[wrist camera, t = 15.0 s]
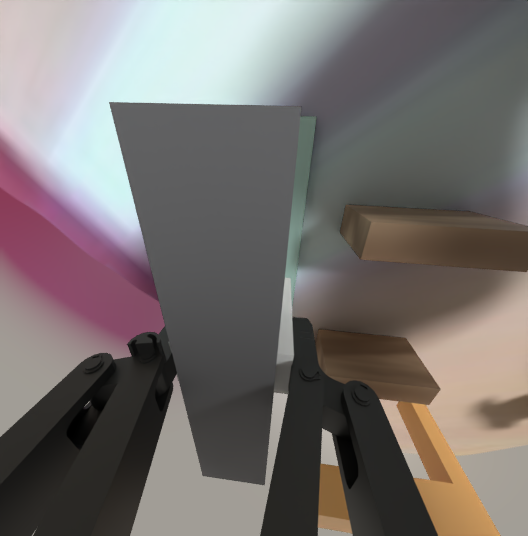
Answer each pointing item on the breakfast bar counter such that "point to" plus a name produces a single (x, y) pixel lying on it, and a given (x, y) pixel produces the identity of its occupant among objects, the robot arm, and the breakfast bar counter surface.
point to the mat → (299, 195)
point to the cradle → (416, 252)
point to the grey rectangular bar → (217, 259)
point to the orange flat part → (419, 484)
